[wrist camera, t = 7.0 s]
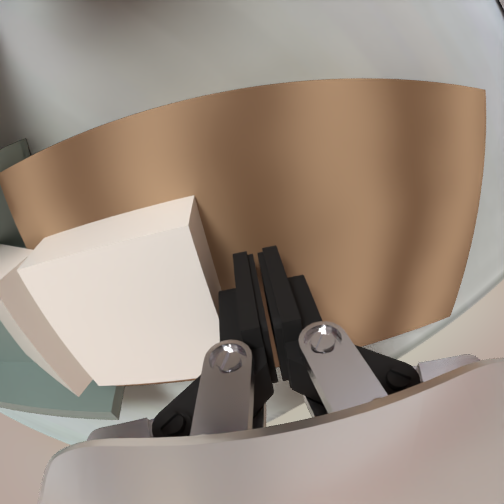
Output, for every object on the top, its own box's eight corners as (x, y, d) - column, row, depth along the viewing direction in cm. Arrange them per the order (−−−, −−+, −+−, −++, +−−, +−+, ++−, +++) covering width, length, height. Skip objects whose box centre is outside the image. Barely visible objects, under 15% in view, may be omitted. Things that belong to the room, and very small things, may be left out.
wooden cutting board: (447, 83, 11) (485, 89, 9) (428, 289, 19) (450, 316, 16) (30, 155, 11) (-3, 174, 9) (124, 351, 19) (116, 386, 16)
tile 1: (35, 250, 10) (-7, 286, 8) (105, 363, 13) (78, 396, 12) (-5, 243, 13) (-33, 266, 11) (47, 329, 16) (25, 353, 14)
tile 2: (194, 195, 10) (188, 225, 8) (234, 331, 14) (238, 371, 12) (44, 237, 10) (16, 270, 8) (108, 349, 14) (98, 385, 12)
